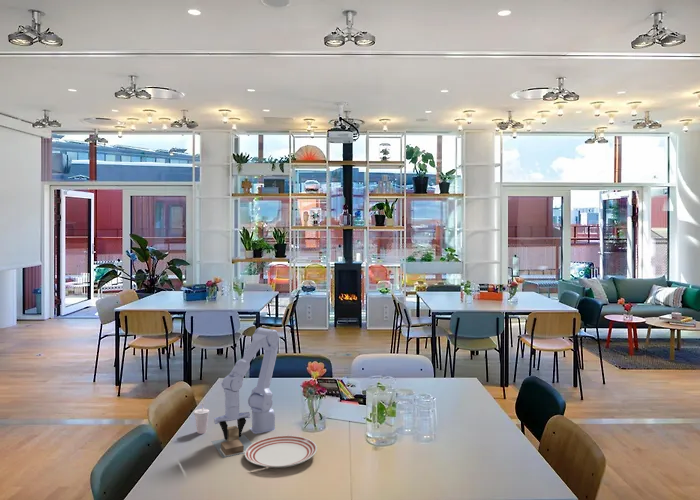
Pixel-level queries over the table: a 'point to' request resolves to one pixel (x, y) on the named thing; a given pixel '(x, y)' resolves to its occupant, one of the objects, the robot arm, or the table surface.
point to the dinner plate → (280, 451)
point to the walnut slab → (232, 447)
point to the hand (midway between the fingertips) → (232, 437)
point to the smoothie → (201, 419)
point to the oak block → (232, 433)
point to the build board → (217, 443)
